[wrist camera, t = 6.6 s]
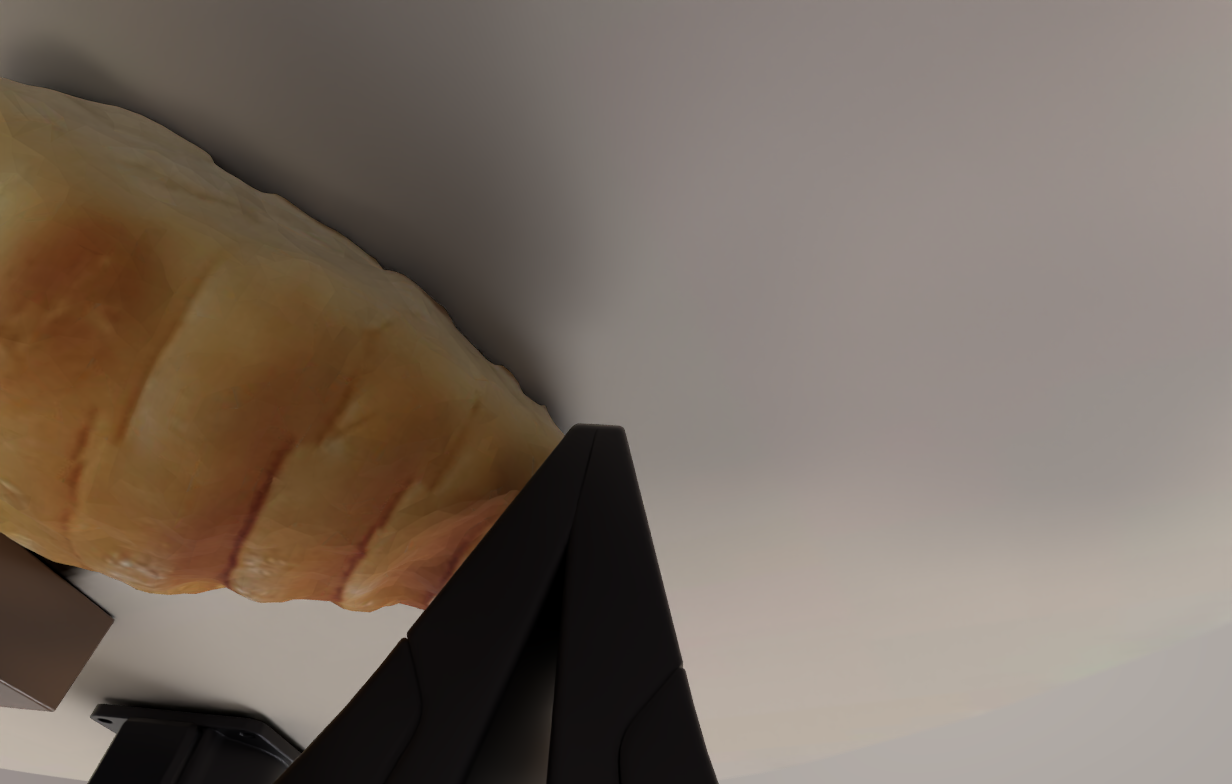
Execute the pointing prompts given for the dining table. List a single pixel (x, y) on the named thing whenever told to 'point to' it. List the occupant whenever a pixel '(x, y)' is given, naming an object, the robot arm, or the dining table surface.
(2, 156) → the pastry
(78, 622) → the strip
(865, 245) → the dining table surface
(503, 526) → the robot arm
